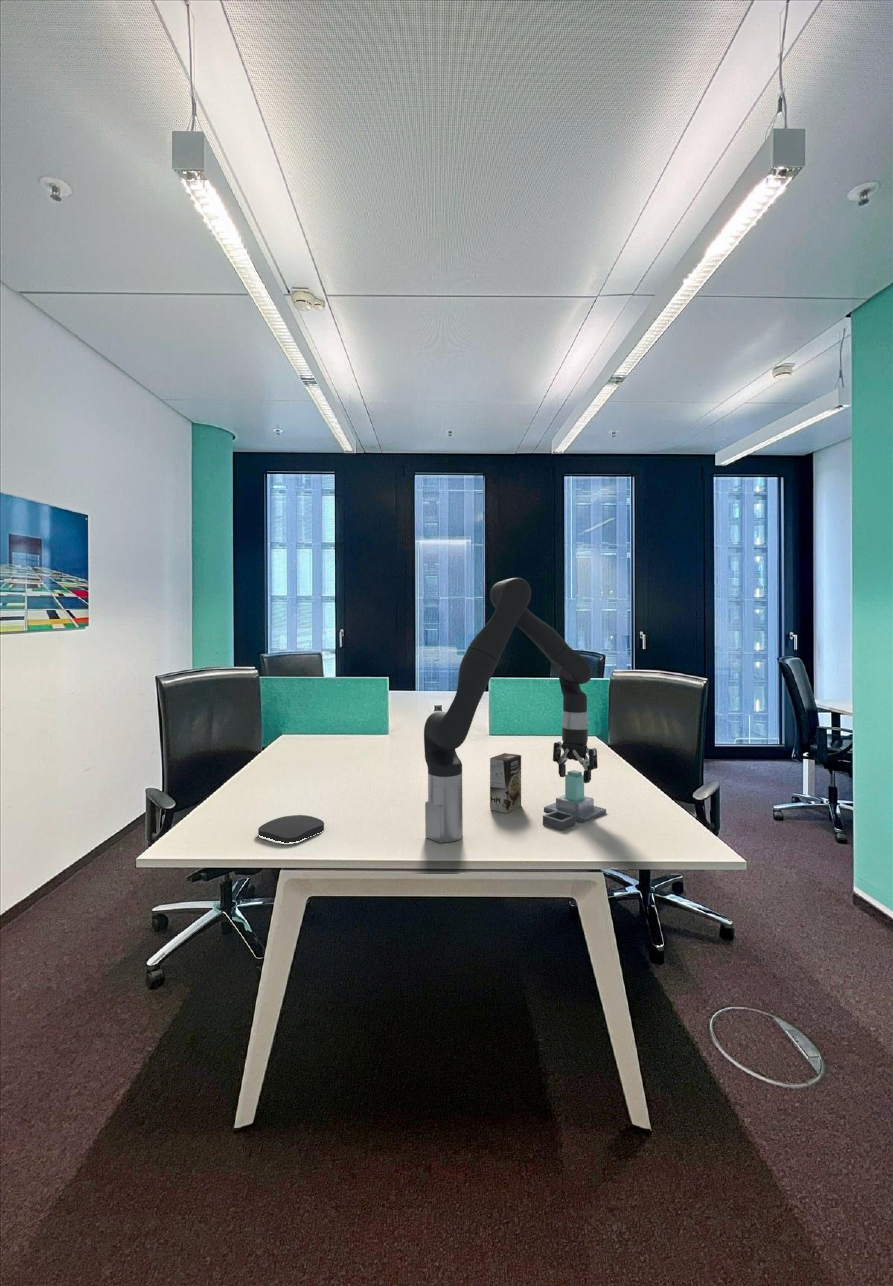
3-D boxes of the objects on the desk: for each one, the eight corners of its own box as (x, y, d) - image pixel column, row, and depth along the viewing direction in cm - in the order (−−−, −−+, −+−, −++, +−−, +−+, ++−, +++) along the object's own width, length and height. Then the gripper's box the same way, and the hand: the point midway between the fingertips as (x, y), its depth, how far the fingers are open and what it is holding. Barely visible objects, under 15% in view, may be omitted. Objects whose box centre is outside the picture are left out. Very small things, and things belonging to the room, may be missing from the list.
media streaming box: (290, 849, 138) (289, 837, 138) (251, 837, 145) (251, 826, 145) (330, 830, 150) (330, 819, 150) (293, 821, 158) (293, 811, 158)
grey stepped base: (583, 823, 153) (583, 808, 153) (543, 811, 164) (543, 797, 164) (606, 813, 161) (606, 799, 161) (567, 802, 172) (567, 789, 172)
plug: (576, 811, 160) (576, 774, 160) (565, 808, 163) (565, 771, 162) (584, 808, 163) (584, 771, 162) (572, 804, 165) (572, 769, 165)
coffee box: (507, 814, 162) (507, 760, 161) (489, 809, 165) (488, 757, 165) (522, 805, 169) (522, 754, 168) (504, 802, 173) (504, 752, 172)
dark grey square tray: (562, 830, 148) (562, 821, 148) (542, 824, 153) (542, 815, 152) (576, 824, 152) (575, 816, 152) (556, 818, 157) (556, 810, 157)
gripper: (547, 724, 165) (547, 777, 165) (588, 730, 154) (587, 787, 154) (562, 721, 170) (562, 773, 170) (602, 727, 159) (602, 782, 159)
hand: (574, 779), depth 162 cm, fingers open, 8 cm apart
